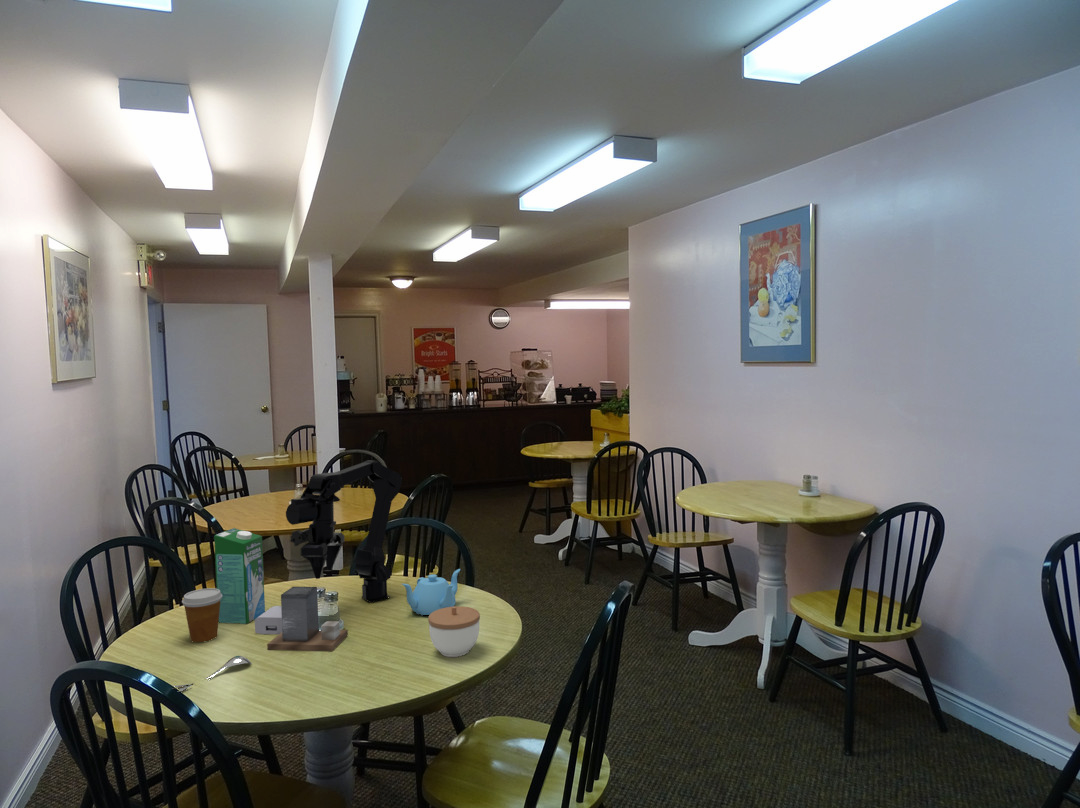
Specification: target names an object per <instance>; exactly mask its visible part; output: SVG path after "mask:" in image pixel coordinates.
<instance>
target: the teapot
mask: <svg viewBox="0 0 1080 808" xmlns="http://www.w3.org/2000/svg"><path fill="white" fill-rule="evenodd" d="M460 571H461V568H458V569H455V570H454V571H453V574H452V575H451V579H450V584H449V582H448V581H447V580H446V579H445V578H444V577H438V575H437V574H433V573H432V574H428V575H427V577H423V576H422V577H419V578H417V580H416V586H415V588H414V589H413V588H412V586H411V585H410V584H408V583H401V585H402V586H403V587H404V588H405V590H406V601H407V604H408V606H410V608H411V609H412V611H413V612H414V613H415V612H416V613H415V614H416V615H419V614H421V615H420V616H423V615H430V614H431V613H432V612H434V611H436V610H438V609H442V608H446V607H454V606H456V595H457V592H458V575H459V573H460ZM412 589H413V590H412Z"/></svg>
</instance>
